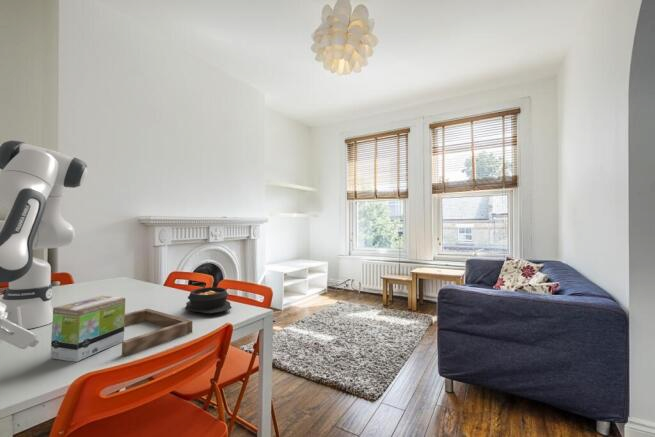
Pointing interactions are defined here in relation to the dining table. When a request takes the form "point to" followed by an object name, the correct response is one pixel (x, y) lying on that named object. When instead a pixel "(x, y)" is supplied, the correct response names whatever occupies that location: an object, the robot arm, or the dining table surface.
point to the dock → (171, 331)
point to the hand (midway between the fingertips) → (34, 343)
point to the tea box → (87, 327)
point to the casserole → (208, 300)
